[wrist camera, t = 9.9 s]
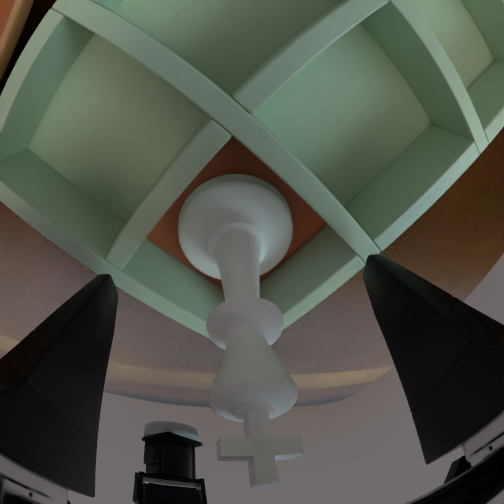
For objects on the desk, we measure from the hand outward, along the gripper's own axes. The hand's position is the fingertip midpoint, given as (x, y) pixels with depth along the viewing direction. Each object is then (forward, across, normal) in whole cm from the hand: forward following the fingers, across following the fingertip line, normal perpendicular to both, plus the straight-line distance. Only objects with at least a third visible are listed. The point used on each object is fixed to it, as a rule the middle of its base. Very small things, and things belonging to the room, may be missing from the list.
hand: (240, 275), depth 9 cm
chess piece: (+4, 0, 0) cm, 4 cm away
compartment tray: (+4, -2, -7) cm, 9 cm away
